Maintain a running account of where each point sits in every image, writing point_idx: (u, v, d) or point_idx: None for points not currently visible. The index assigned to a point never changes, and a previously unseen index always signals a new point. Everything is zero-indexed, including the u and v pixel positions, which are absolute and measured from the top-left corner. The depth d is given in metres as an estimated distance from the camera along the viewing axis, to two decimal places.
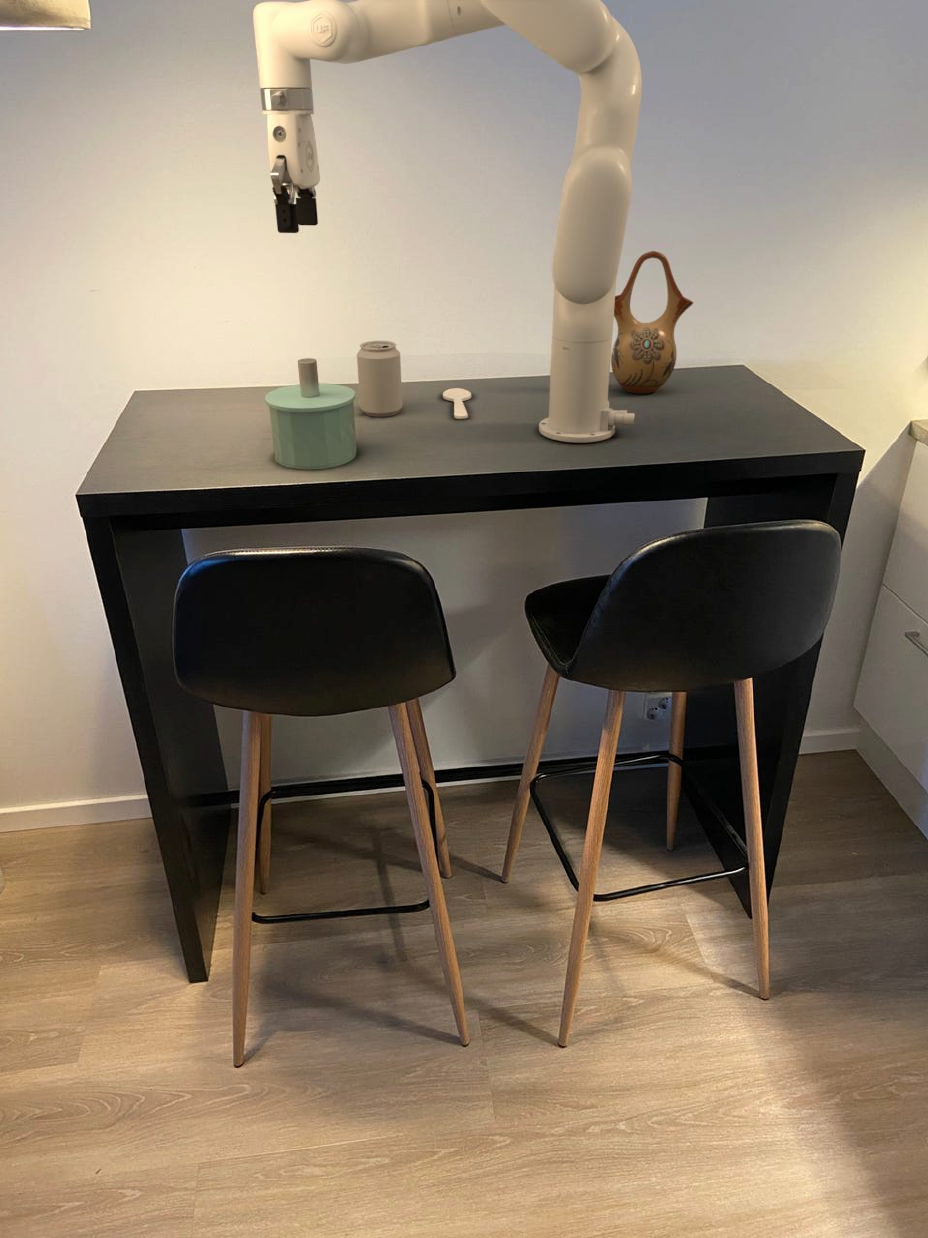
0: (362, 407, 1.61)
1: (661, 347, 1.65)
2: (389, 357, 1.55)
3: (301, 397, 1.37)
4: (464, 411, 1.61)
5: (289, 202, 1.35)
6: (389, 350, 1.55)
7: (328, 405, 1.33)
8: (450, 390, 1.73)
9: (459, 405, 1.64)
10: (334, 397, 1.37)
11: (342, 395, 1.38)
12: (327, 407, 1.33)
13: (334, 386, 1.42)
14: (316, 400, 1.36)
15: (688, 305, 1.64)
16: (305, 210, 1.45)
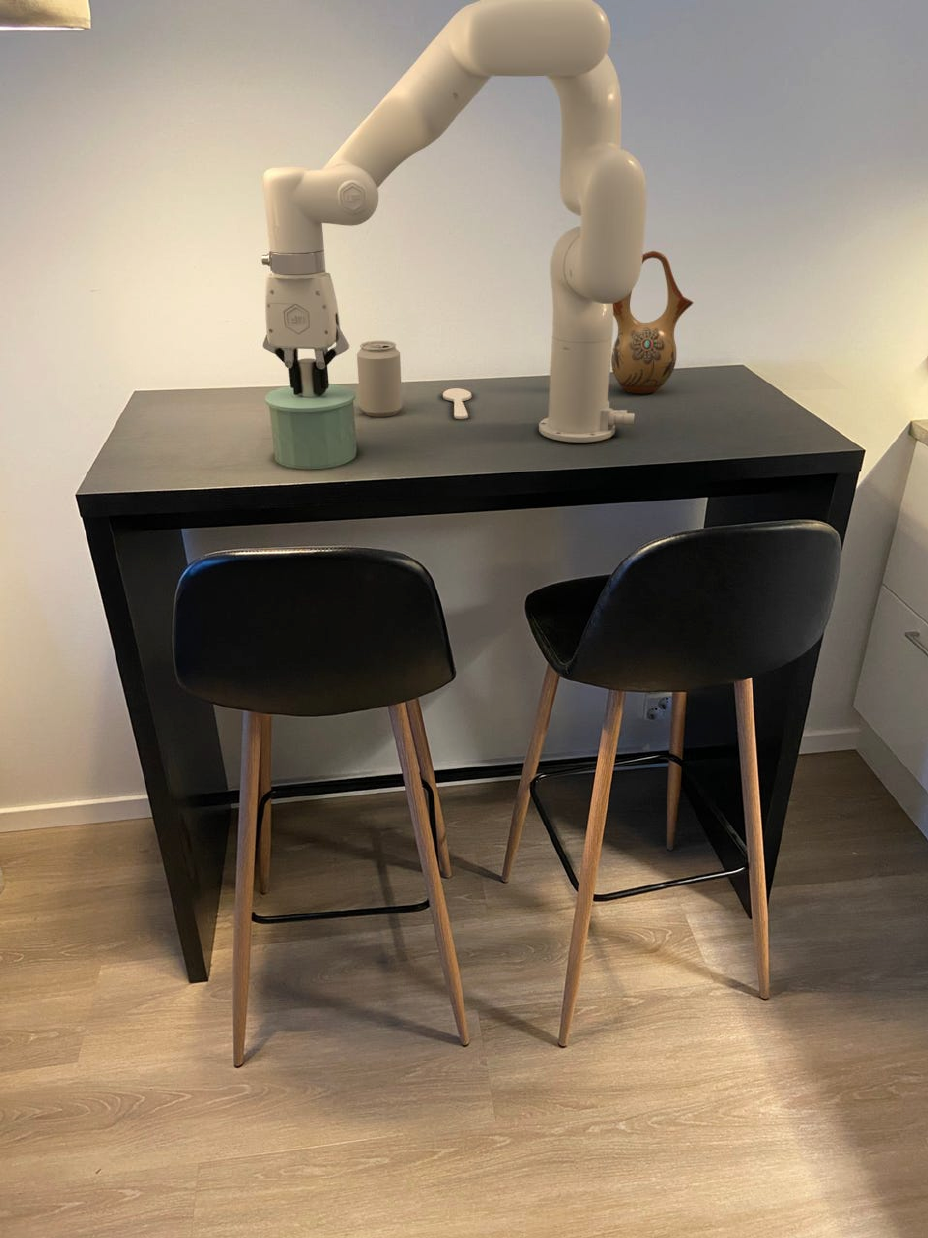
0: (362, 407, 1.61)
1: (661, 347, 1.65)
2: (389, 357, 1.55)
3: (301, 397, 1.37)
4: (464, 411, 1.61)
5: (288, 366, 1.36)
6: (389, 350, 1.55)
7: (328, 405, 1.33)
8: (450, 390, 1.73)
9: (459, 405, 1.64)
10: (334, 397, 1.37)
11: (342, 395, 1.38)
12: (327, 407, 1.33)
13: (334, 386, 1.42)
14: (316, 400, 1.36)
15: (688, 305, 1.64)
16: None
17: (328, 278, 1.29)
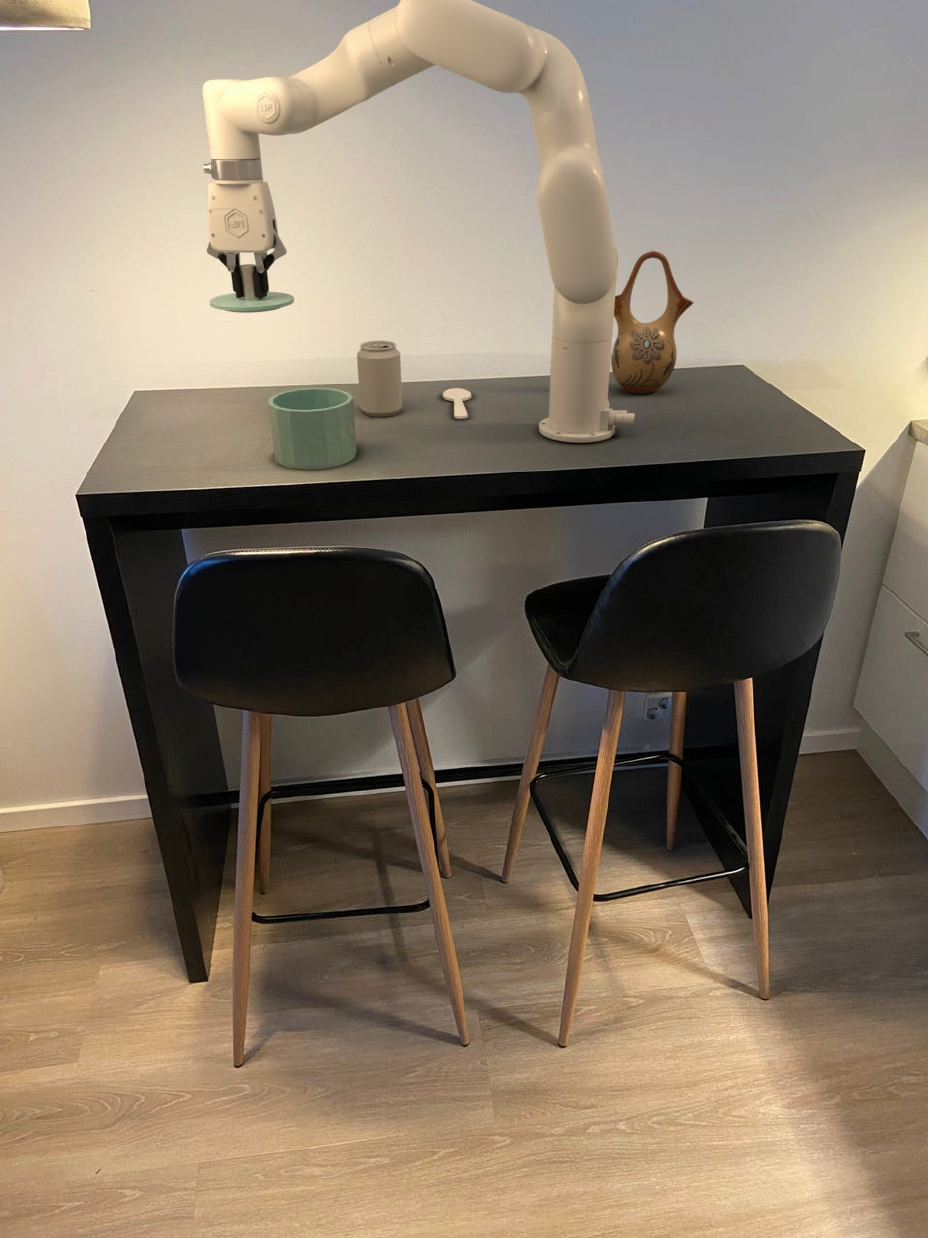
0: (362, 407, 1.61)
1: (661, 347, 1.65)
2: (389, 357, 1.55)
3: (243, 300, 1.48)
4: (464, 411, 1.61)
5: (230, 271, 1.47)
6: (389, 350, 1.55)
7: (267, 305, 1.45)
8: (450, 390, 1.73)
9: (459, 405, 1.64)
10: (274, 300, 1.48)
11: (281, 299, 1.49)
12: (265, 307, 1.44)
13: (276, 293, 1.53)
14: (256, 302, 1.47)
15: (688, 305, 1.64)
16: None
17: (265, 185, 1.40)
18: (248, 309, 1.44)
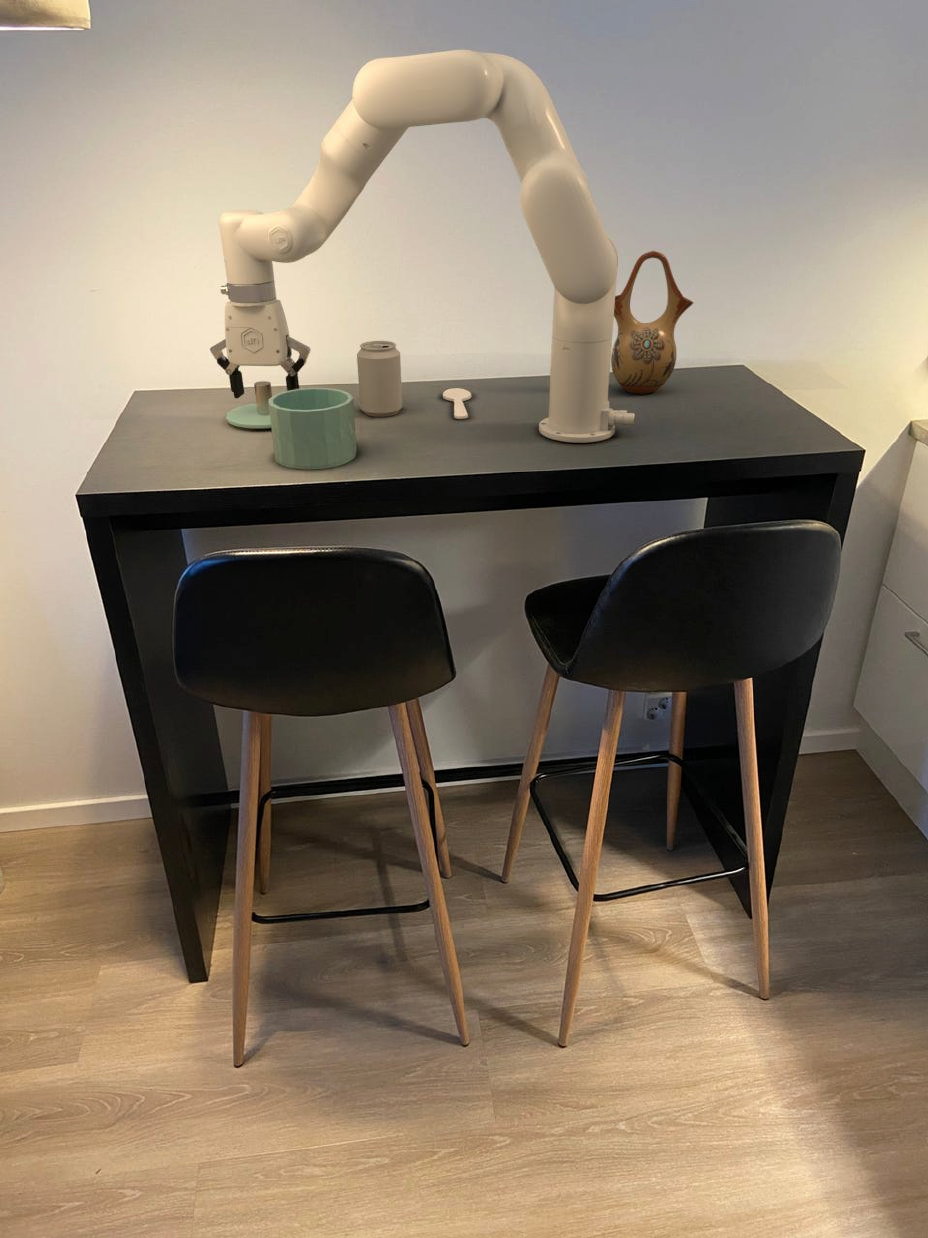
0: (362, 407, 1.61)
1: (661, 347, 1.65)
2: (389, 357, 1.55)
3: (257, 415, 1.58)
4: (464, 411, 1.61)
5: (226, 372, 1.55)
6: (389, 350, 1.55)
7: None
8: (450, 390, 1.73)
9: (459, 405, 1.64)
10: None
11: None
12: None
13: None
14: None
15: (688, 305, 1.64)
16: None
17: (279, 304, 1.49)
18: (262, 427, 1.53)
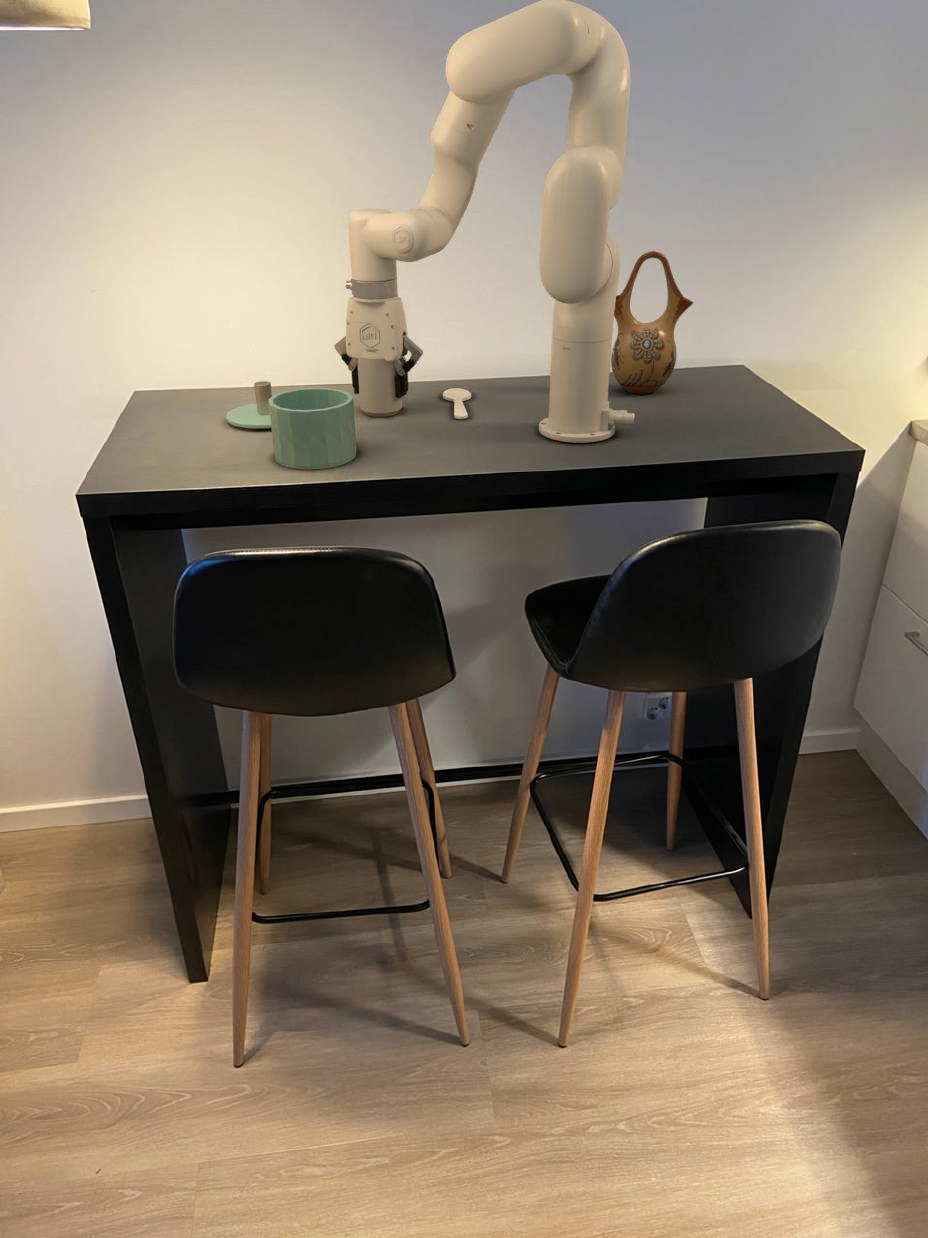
0: (362, 407, 1.61)
1: (661, 347, 1.65)
2: None
3: (257, 415, 1.58)
4: (464, 411, 1.61)
5: (350, 368, 1.60)
6: None
7: None
8: (450, 390, 1.73)
9: (459, 405, 1.64)
10: None
11: None
12: None
13: None
14: None
15: (688, 305, 1.64)
16: None
17: (398, 302, 1.52)
18: (262, 427, 1.53)
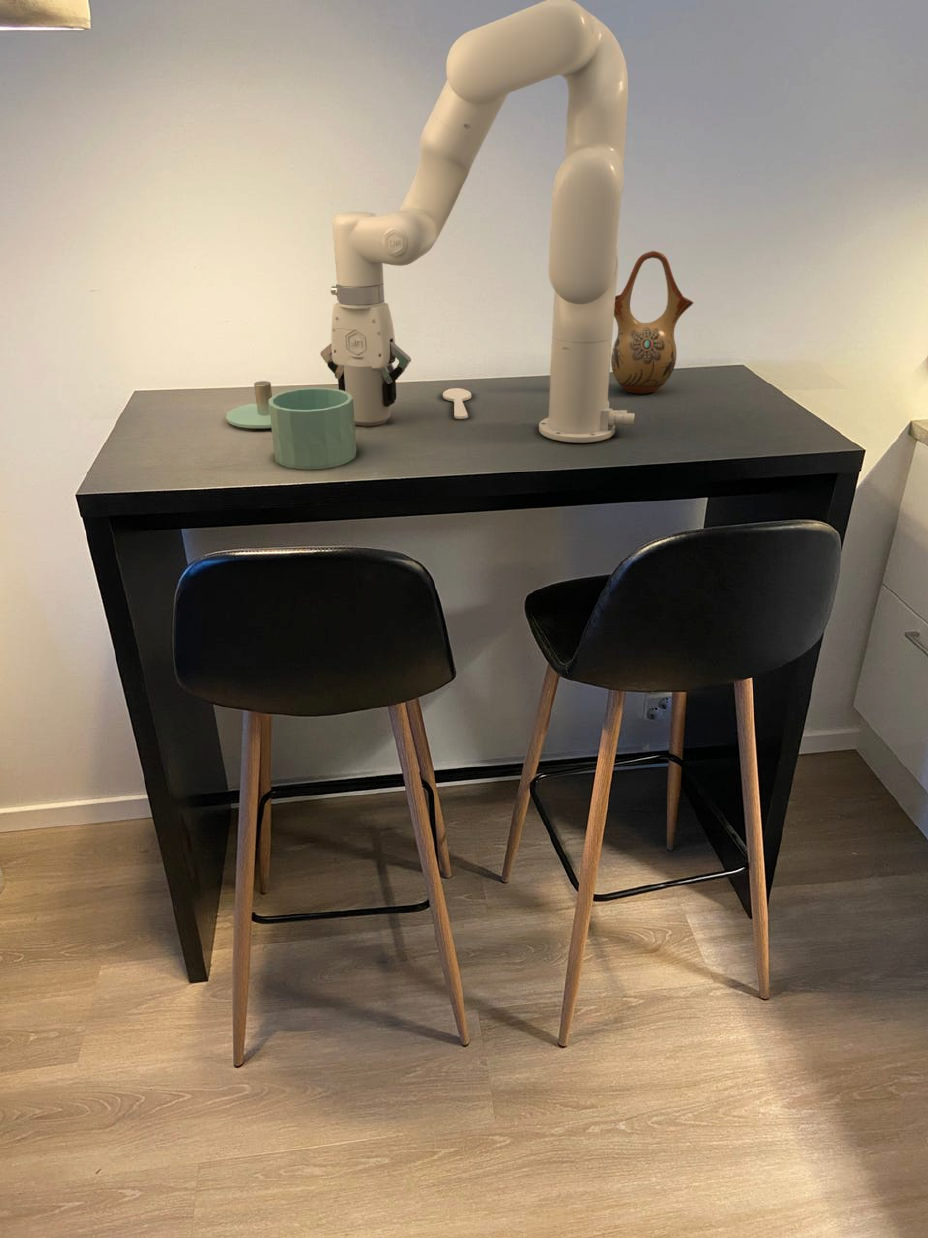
0: None
1: (661, 347, 1.65)
2: None
3: (257, 415, 1.58)
4: (464, 411, 1.61)
5: (336, 376, 1.56)
6: None
7: None
8: (450, 390, 1.73)
9: (459, 405, 1.64)
10: None
11: None
12: None
13: None
14: None
15: (688, 305, 1.64)
16: None
17: (385, 308, 1.47)
18: (262, 427, 1.53)
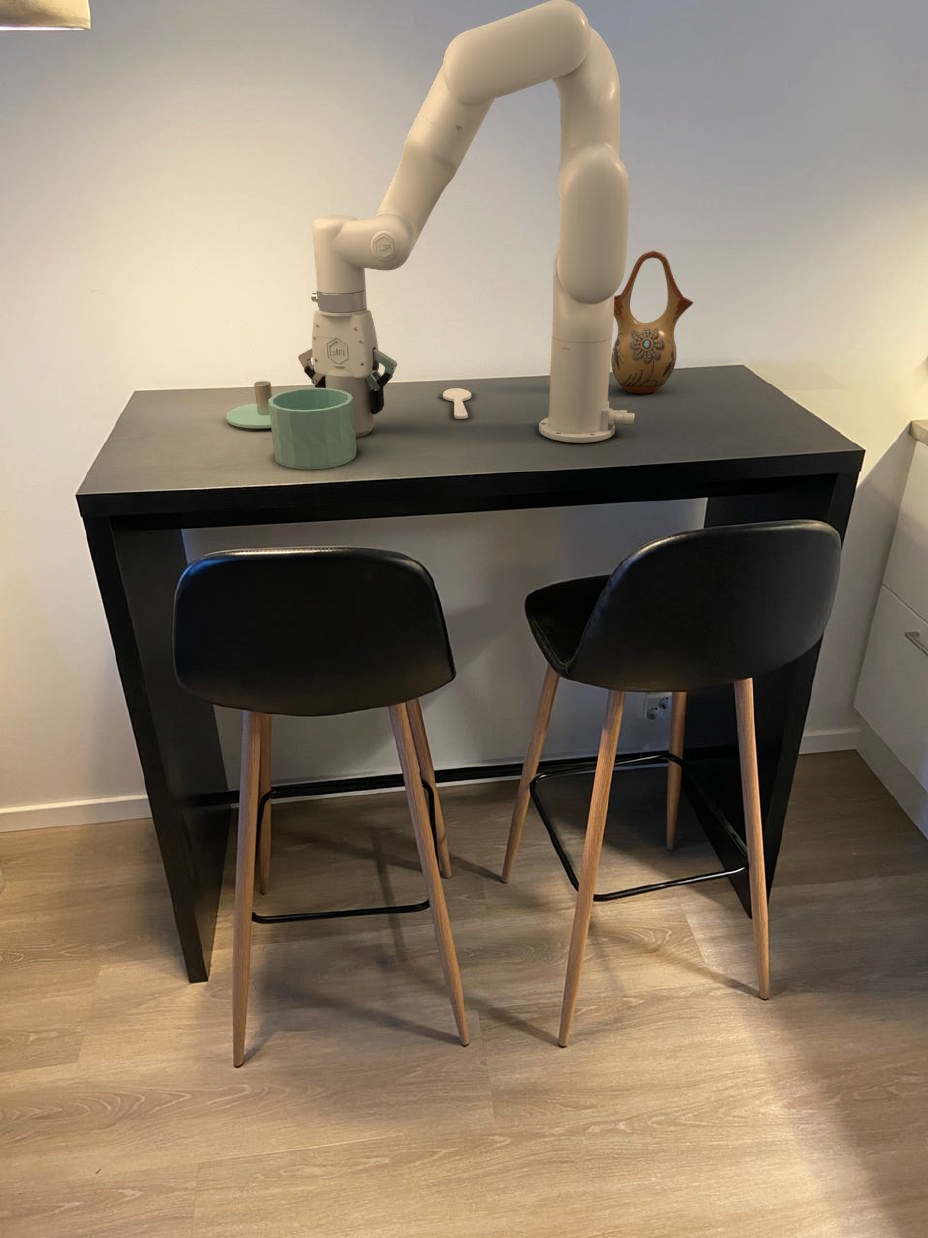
0: None
1: (661, 347, 1.65)
2: None
3: (257, 415, 1.58)
4: (464, 411, 1.61)
5: (313, 381, 1.50)
6: None
7: None
8: (450, 390, 1.73)
9: (459, 405, 1.64)
10: None
11: None
12: None
13: None
14: None
15: (688, 305, 1.64)
16: None
17: (367, 316, 1.42)
18: (262, 427, 1.53)
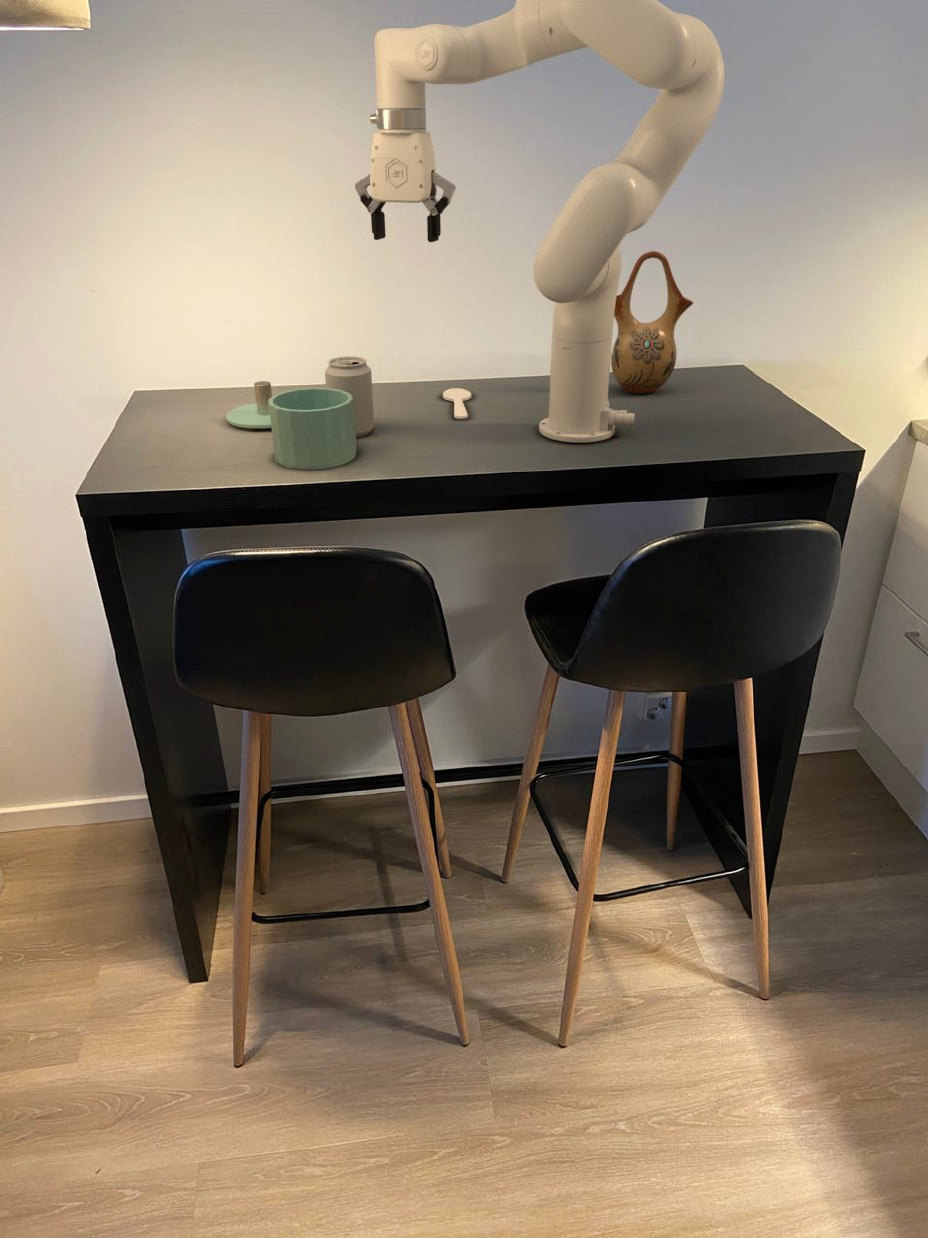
0: None
1: (661, 347, 1.65)
2: (359, 374, 1.45)
3: (257, 415, 1.58)
4: (464, 411, 1.61)
5: (369, 210, 1.50)
6: (358, 367, 1.46)
7: None
8: (450, 390, 1.73)
9: (459, 405, 1.64)
10: None
11: None
12: None
13: None
14: None
15: (688, 305, 1.64)
16: None
17: (427, 134, 1.41)
18: (262, 427, 1.53)
